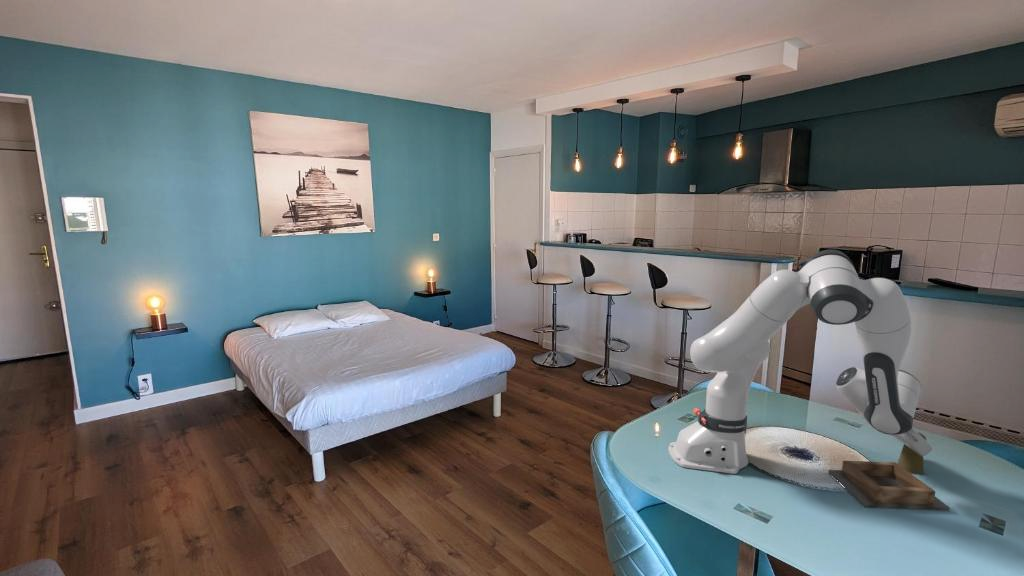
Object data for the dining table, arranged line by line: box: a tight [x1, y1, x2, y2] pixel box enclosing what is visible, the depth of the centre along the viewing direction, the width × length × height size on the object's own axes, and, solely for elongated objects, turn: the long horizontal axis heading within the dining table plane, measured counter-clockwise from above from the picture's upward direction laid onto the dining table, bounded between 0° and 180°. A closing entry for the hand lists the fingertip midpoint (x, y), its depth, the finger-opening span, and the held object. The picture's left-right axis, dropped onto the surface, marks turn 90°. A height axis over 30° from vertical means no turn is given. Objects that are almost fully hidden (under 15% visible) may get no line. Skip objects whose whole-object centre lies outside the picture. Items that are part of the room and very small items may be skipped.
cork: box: [897, 431, 927, 475], centre depth 138 cm, size 6×6×11 cm
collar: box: [827, 460, 950, 512], centre depth 128 cm, size 20×16×4 cm
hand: (915, 448), depth 138 cm, fingers closed on cork, 5 cm apart
